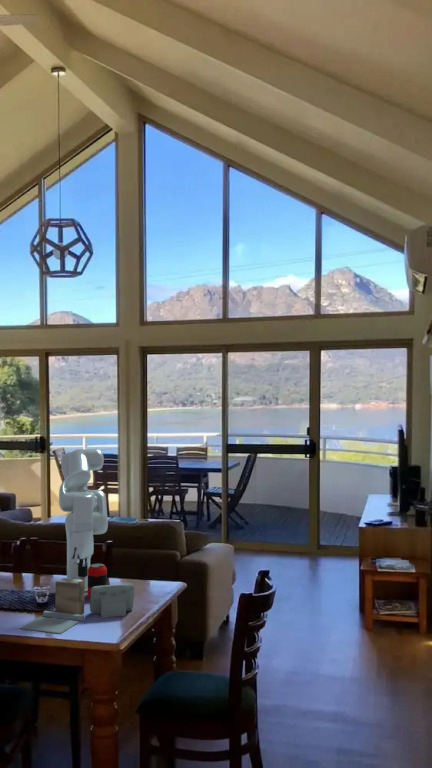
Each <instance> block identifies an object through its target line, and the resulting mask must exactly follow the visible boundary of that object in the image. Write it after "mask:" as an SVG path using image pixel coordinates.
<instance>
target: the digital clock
mask: <svg viewBox="0 0 432 768" xmlns="http://www.w3.org/2000/svg"><path fill="white" fill-rule="evenodd" d="M89 598H90V599H89V601H90V602H89V611H90V613H91V614H100V617H101V618H108V617H109V618H111V617H121V616H127V612H128V611H131V610H132V611H133V609H134V603H135V600H134V599H135V584H134V583H122V584H121V583H119V584H109V585H108V584H107V585H105V586H94V587H92V588H91V597H89Z"/></svg>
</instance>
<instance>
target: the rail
mask: <svg viewBox="0 0 432 768" xmlns="http://www.w3.org/2000/svg"><path fill="white" fill-rule="evenodd" d="M42 617H46V618H54V619H63V620H71V621H79V622H81V621H82V622H83V621H84V620H85V614H83V615H78V614H69V613H60V612H55V611H50V610H44V611H43V612H42Z"/></svg>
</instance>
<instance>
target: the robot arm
mask: <svg viewBox="0 0 432 768" xmlns="http://www.w3.org/2000/svg"><path fill="white" fill-rule="evenodd" d="M104 458H105V457H104V454H103V452H102V450H100V449H97V448H86V449H83V448H81V449H75V450H73V451H69V452H66V453H63V455H62V456H61V458H60V466H61V472H62V474H63V478H64V480H63V481H62V482H61V484H60V487H59V489H58V503H59V508H60V510H61V511H62V512H64V513H69V512H70V513H69V514H67V515H66V517H65V520H64V525H65V532H66V533H65V534H66V535H65V536H66V578H67V579H78V580H84V593H85V592H88V568H89V567H90V565H91V558H92V555H94V548H95V547H94V543H95V542H94V535H103V534H106V532H108V527H109V526H108V525H109V520H108V519H109V518H108V509H107V507H108V506H107V497H106V494H105V493H104V491H102V490H100V489H89V488H88V483H89V482H90V480H91V478H92V476H91V474H92V473H91V471H100V470H101V469H102V468H103V466H104V461H105V459H104Z"/></svg>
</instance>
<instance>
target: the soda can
mask: <svg viewBox="0 0 432 768" xmlns="http://www.w3.org/2000/svg"><path fill="white" fill-rule="evenodd" d="M105 585H108V567H106V565H105V564H103V563H92V564H90V567H89V568H88V591H87V597H89V598H90V597H91V588H92V587H94V586H105Z"/></svg>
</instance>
